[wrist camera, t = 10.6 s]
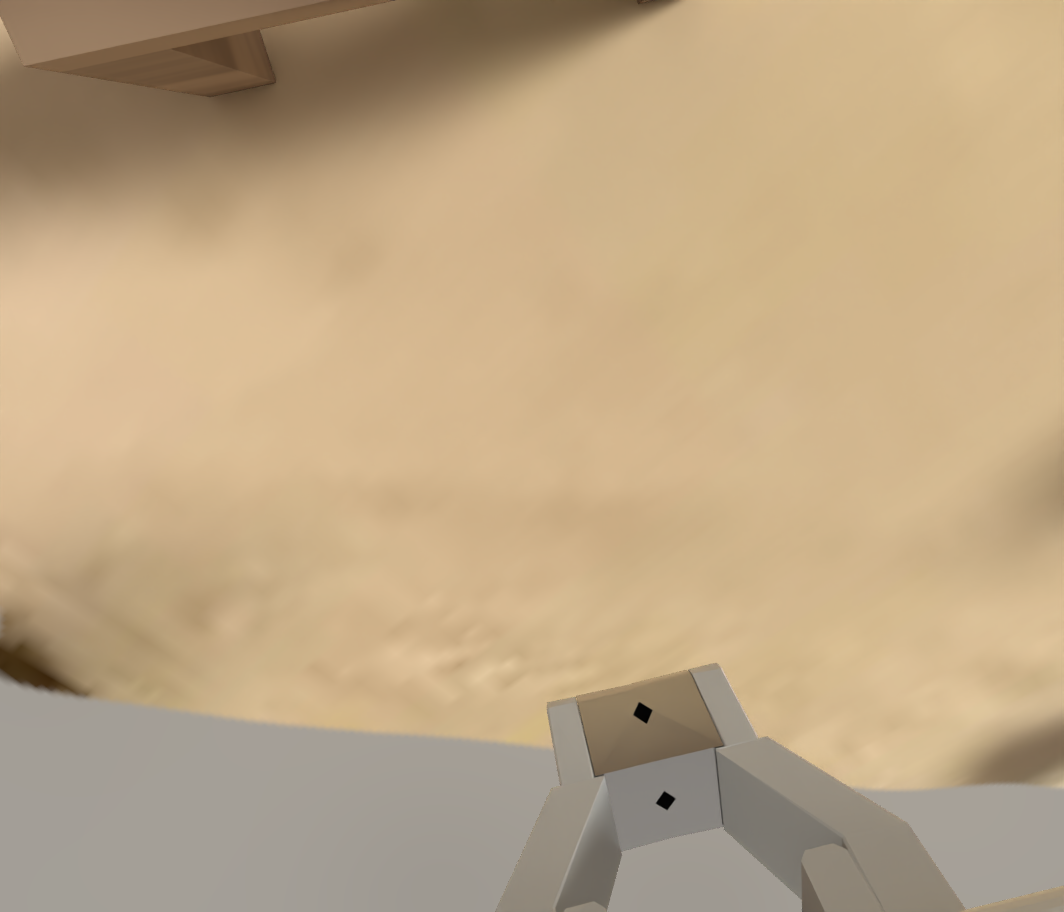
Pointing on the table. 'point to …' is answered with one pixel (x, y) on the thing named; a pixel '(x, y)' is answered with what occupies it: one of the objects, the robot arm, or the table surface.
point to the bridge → (159, 39)
